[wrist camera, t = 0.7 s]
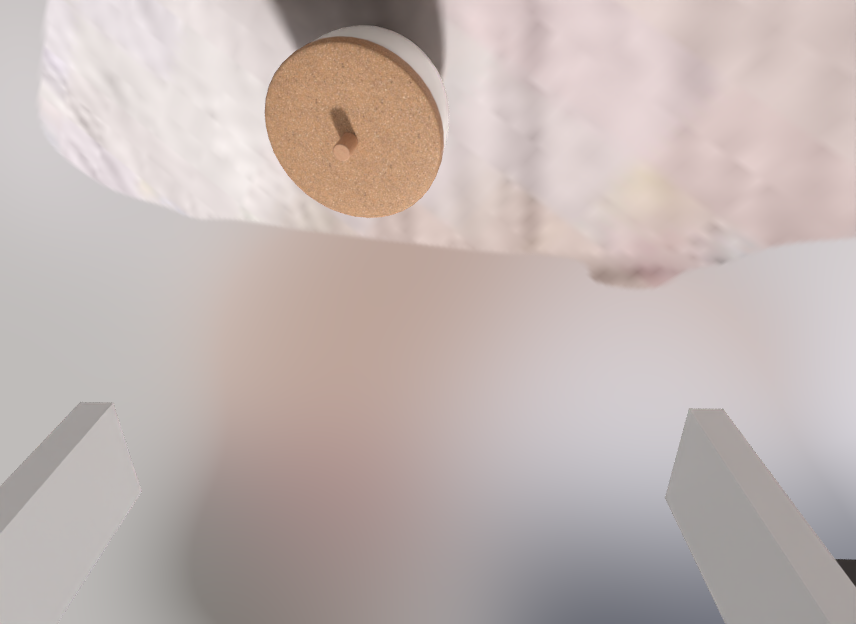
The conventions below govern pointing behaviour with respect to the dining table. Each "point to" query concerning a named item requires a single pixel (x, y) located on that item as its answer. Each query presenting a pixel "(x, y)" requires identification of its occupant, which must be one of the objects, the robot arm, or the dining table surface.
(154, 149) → the dining table surface
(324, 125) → the lidded jar
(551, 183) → the dining table surface
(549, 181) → the dining table surface
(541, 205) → the dining table surface
